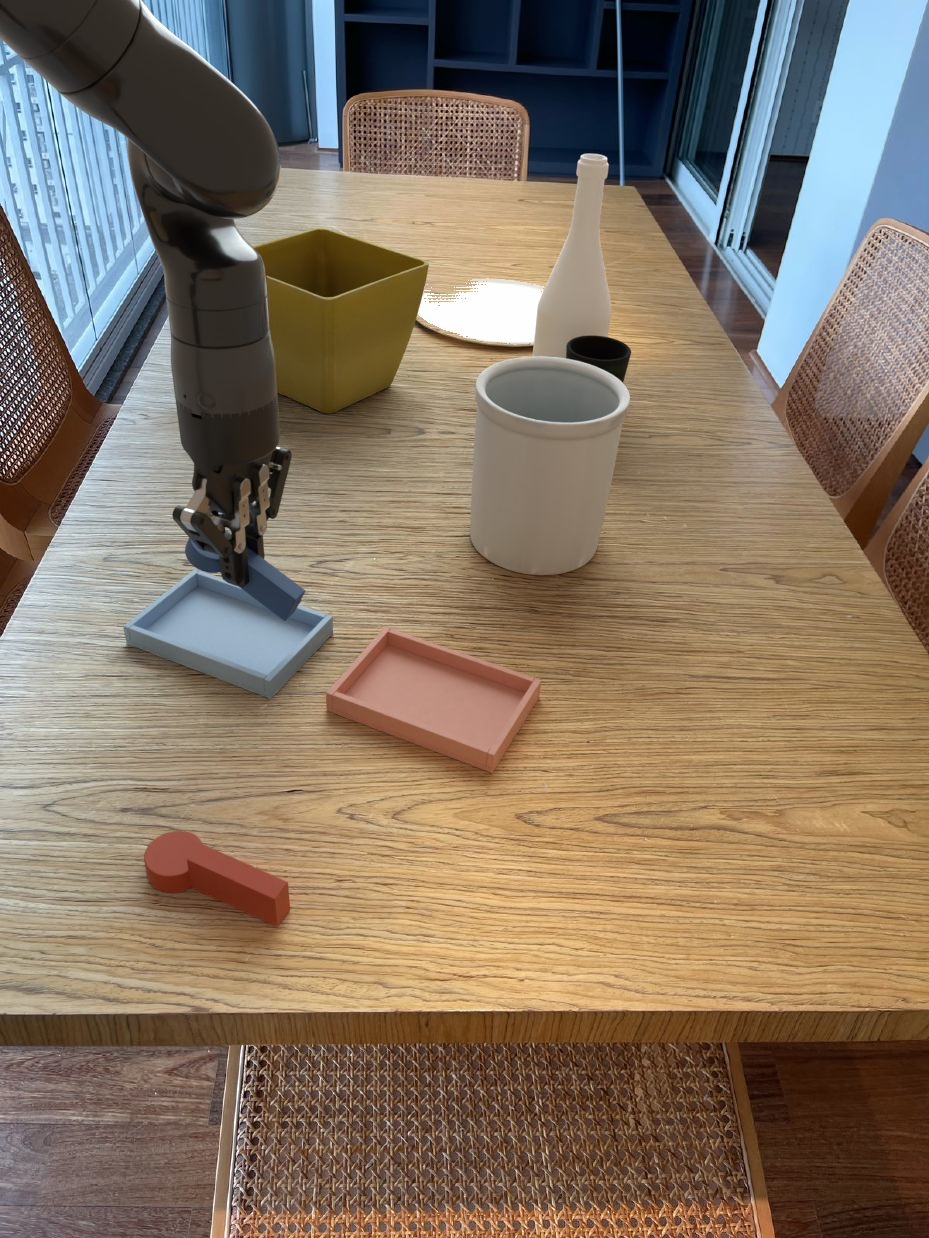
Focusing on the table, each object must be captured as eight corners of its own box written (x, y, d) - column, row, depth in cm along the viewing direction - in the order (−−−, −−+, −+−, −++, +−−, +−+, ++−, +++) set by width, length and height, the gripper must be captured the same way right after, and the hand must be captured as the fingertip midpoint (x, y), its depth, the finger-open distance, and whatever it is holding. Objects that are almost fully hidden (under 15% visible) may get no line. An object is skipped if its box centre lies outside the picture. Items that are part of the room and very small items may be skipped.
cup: (542, 435, 126) (553, 344, 118) (583, 419, 130) (596, 330, 123) (587, 459, 121) (601, 366, 114) (628, 442, 126) (644, 351, 118)
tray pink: (539, 697, 87) (541, 679, 85) (492, 773, 79) (494, 755, 78) (384, 643, 91) (384, 626, 90) (326, 710, 84) (325, 692, 83)
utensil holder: (622, 575, 102) (652, 419, 91) (480, 585, 99) (494, 425, 89) (580, 501, 113) (603, 354, 103) (452, 508, 111) (461, 357, 100)
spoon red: (299, 896, 69) (298, 868, 67) (267, 941, 66) (264, 913, 64) (171, 839, 72) (166, 811, 70) (135, 879, 69) (128, 851, 67)
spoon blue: (302, 604, 87) (313, 583, 85) (277, 629, 84) (288, 608, 82) (203, 530, 87) (212, 507, 85) (175, 552, 84) (183, 529, 82)
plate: (595, 293, 168) (596, 285, 167) (587, 361, 145) (588, 353, 144) (424, 274, 170) (424, 267, 170) (389, 338, 147) (389, 330, 147)
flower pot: (428, 386, 135) (433, 260, 125) (331, 433, 123) (328, 298, 112) (324, 346, 144) (321, 226, 133) (224, 387, 131) (212, 258, 121)
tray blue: (333, 633, 92) (332, 616, 91) (271, 699, 84) (269, 681, 83) (196, 585, 97) (194, 568, 95) (126, 643, 89) (122, 626, 88)
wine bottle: (610, 392, 137) (647, 157, 119) (578, 416, 131) (612, 171, 112) (550, 373, 141) (577, 143, 123) (515, 395, 134) (539, 156, 116)
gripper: (237, 346, 81) (253, 527, 92) (124, 411, 71) (156, 606, 81) (317, 366, 79) (324, 550, 89) (212, 437, 69) (233, 634, 79)
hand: (244, 576), depth 85 cm, fingers closed on spoon blue, 1 cm apart
